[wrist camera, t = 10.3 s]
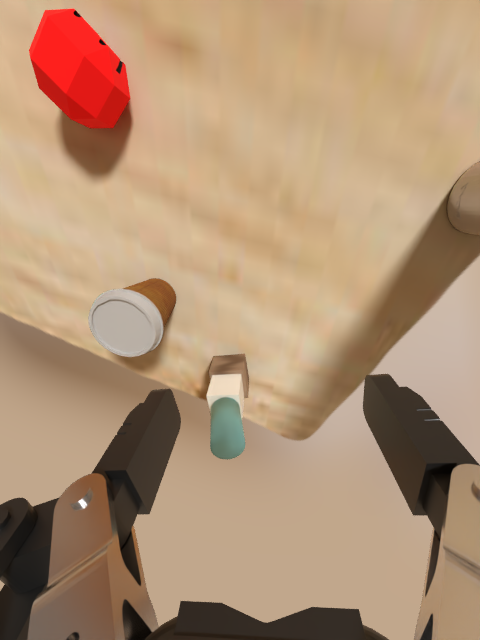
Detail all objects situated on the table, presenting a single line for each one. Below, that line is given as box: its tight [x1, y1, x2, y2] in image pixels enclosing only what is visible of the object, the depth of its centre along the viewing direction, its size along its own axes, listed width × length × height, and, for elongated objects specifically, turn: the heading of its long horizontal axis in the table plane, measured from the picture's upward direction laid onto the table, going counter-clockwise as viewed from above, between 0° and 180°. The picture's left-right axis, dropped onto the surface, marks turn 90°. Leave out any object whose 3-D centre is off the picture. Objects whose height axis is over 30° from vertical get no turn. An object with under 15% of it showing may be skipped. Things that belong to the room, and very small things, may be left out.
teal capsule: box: [210, 397, 245, 459], centre depth 34 cm, size 4×4×7 cm
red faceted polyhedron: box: [29, 9, 130, 128], centre depth 27 cm, size 8×8×8 cm
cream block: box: [207, 374, 244, 419], centre depth 40 cm, size 5×5×5 cm
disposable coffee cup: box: [88, 278, 176, 357], centre depth 36 cm, size 10×10×12 cm
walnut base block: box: [209, 354, 249, 398], centre depth 44 cm, size 6×6×5 cm
